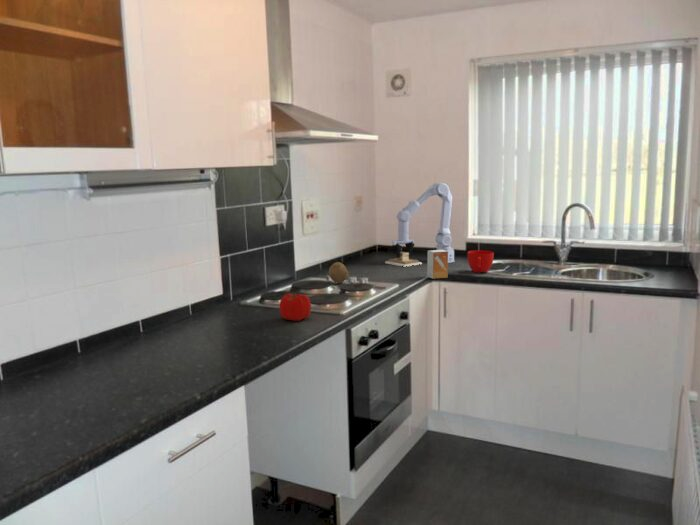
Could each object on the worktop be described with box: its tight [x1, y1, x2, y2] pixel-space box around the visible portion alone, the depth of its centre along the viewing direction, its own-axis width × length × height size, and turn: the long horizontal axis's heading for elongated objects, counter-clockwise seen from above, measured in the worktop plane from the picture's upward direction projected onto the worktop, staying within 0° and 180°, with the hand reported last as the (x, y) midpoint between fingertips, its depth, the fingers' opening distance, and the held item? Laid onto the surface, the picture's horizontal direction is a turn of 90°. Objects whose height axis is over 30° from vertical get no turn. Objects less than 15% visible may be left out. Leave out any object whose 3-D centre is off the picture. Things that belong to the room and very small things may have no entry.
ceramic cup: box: [467, 249, 495, 274], centre depth 289 cm, size 13×17×10 cm
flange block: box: [392, 251, 413, 262], centre depth 319 cm, size 10×6×5 cm, turn 36°
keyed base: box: [384, 257, 423, 268], centre depth 319 cm, size 16×13×2 cm
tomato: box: [278, 293, 312, 322], centre depth 206 cm, size 11×12×9 cm
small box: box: [426, 249, 449, 280], centre depth 278 cm, size 8×6×13 cm
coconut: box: [328, 261, 350, 284], centre depth 268 cm, size 9×9×10 cm
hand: (403, 256), depth 319 cm, fingers open, 7 cm apart
